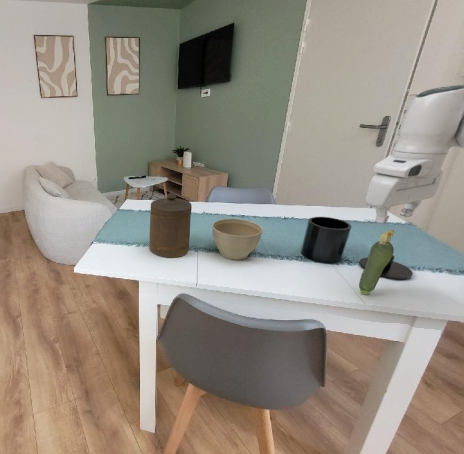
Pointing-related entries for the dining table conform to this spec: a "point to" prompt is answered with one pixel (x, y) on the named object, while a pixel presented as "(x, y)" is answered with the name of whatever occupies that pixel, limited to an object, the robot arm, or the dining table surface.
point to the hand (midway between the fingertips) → (393, 219)
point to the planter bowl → (236, 237)
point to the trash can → (325, 239)
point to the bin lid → (392, 269)
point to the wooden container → (170, 226)
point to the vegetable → (376, 262)
